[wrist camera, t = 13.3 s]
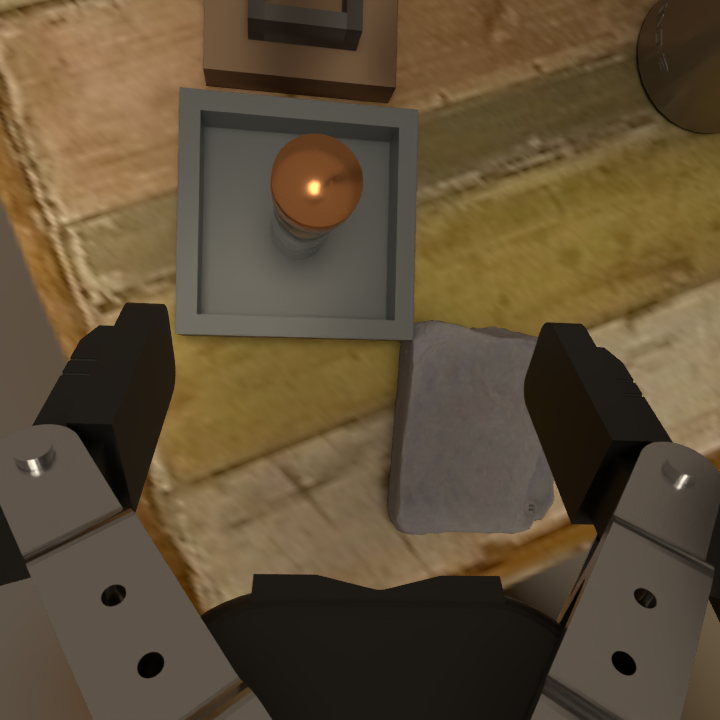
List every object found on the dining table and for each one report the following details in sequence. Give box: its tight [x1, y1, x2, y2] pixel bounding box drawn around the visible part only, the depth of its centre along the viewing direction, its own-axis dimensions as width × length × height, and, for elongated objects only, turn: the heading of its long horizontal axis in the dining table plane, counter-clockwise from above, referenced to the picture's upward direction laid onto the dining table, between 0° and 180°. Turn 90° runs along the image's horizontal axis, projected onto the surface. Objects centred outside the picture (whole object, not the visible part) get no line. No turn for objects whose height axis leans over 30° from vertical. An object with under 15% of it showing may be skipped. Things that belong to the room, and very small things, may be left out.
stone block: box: [388, 320, 554, 535], centre depth 34 cm, size 12×5×10 cm
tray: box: [175, 87, 418, 341], centre depth 31 cm, size 12×12×3 cm
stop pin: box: [270, 134, 363, 259], centre depth 28 cm, size 4×4×9 cm
